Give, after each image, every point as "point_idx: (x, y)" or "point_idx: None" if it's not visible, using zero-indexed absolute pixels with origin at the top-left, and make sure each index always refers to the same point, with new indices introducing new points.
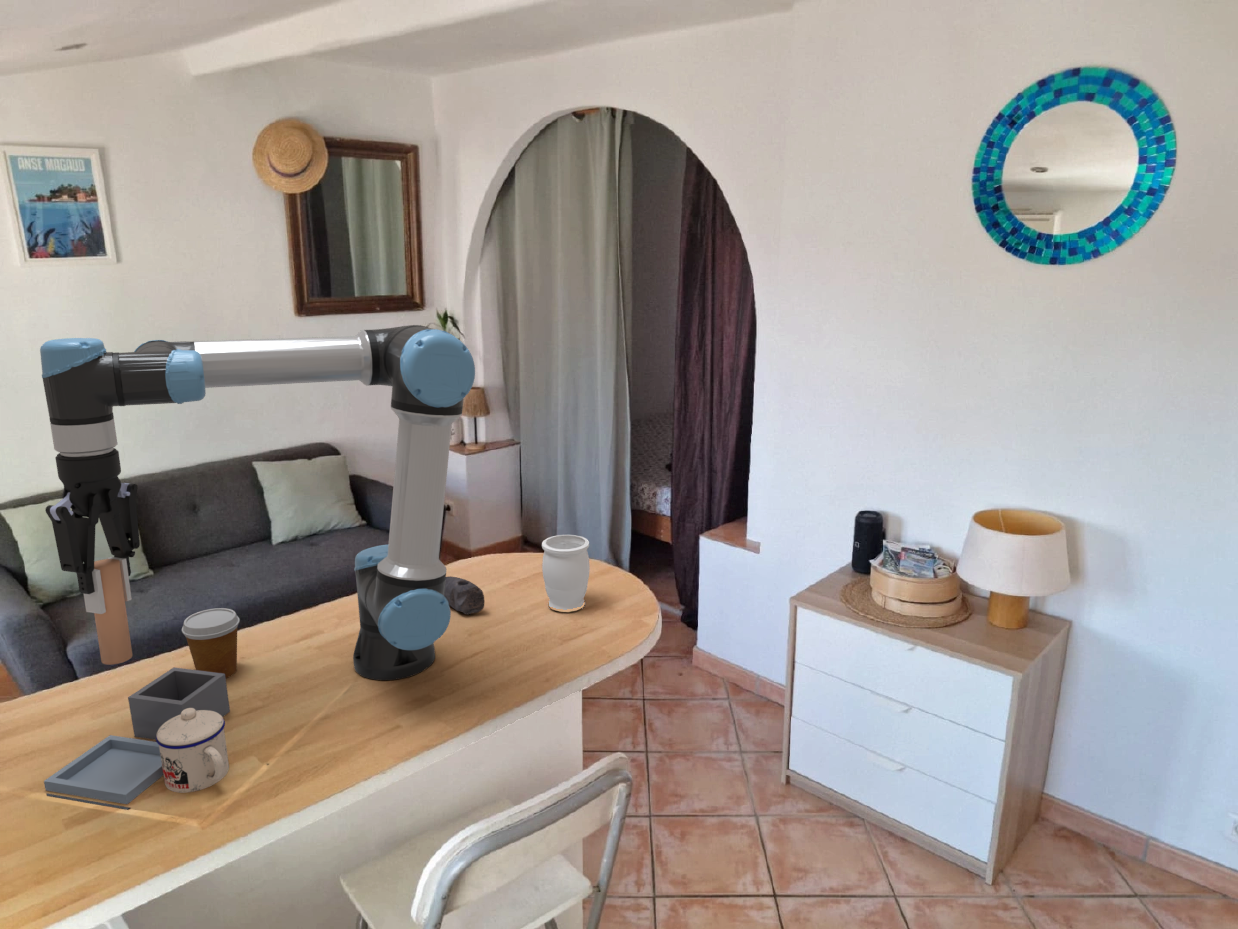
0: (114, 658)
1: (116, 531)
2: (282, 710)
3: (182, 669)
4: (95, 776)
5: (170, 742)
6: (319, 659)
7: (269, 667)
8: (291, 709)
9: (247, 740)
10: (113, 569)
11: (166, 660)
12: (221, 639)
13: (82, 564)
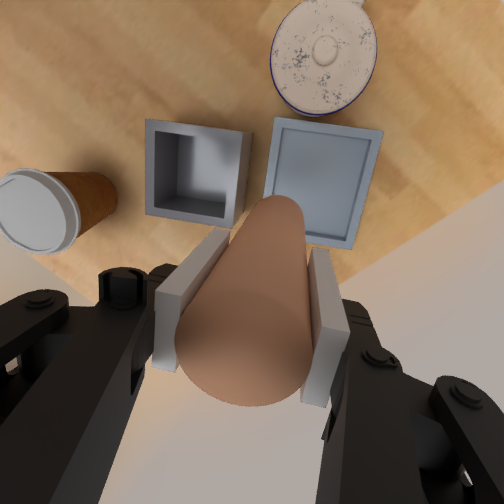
0: (301, 212)
1: (71, 457)
2: (146, 49)
3: (148, 197)
4: (324, 207)
5: (374, 59)
6: (11, 70)
7: (54, 138)
8: (141, 35)
9: (223, 59)
10: (265, 285)
11: (80, 280)
12: (62, 180)
13: (410, 407)
